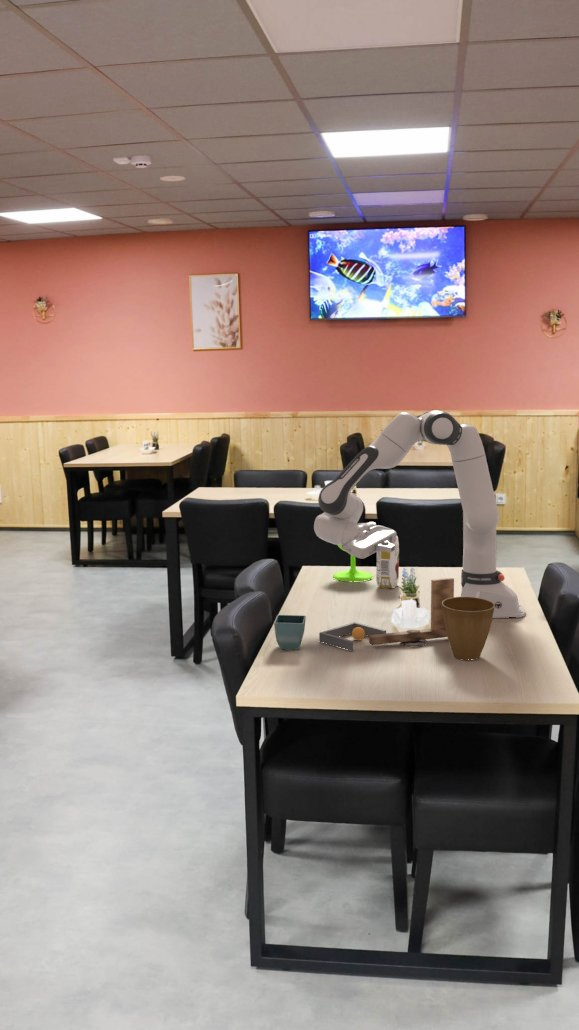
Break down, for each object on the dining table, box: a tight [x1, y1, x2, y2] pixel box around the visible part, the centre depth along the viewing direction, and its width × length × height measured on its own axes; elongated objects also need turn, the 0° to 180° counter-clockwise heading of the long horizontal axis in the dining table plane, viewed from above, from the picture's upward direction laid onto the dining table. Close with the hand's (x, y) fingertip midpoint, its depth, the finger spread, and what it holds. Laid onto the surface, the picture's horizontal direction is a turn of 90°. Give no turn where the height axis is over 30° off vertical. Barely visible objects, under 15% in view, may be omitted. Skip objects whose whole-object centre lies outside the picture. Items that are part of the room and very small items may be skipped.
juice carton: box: [375, 535, 400, 589], centre depth 349 cm, size 8×9×19 cm
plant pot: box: [442, 596, 495, 661], centre depth 267 cm, size 15×15×16 cm
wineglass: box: [332, 545, 374, 583], centre depth 364 cm, size 16×16×18 cm
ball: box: [351, 627, 366, 641], centre depth 286 cm, size 4×4×4 cm
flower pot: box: [273, 614, 307, 650], centre depth 278 cm, size 9×9×9 cm
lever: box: [368, 577, 455, 646], centre depth 281 cm, size 27×4×18 cm, turn 107°
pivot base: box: [399, 639, 428, 647], centre depth 282 cm, size 8×8×1 cm
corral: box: [318, 621, 387, 651], centre depth 285 cm, size 13×16×3 cm
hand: (393, 549), depth 295 cm, fingers closed
